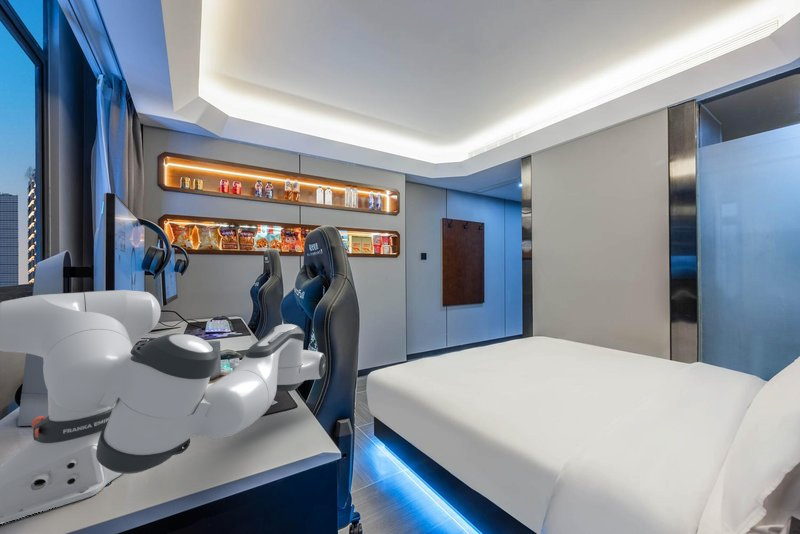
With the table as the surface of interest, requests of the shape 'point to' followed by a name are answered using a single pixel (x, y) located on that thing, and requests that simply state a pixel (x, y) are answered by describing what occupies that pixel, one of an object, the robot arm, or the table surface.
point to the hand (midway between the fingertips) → (242, 360)
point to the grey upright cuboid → (218, 367)
